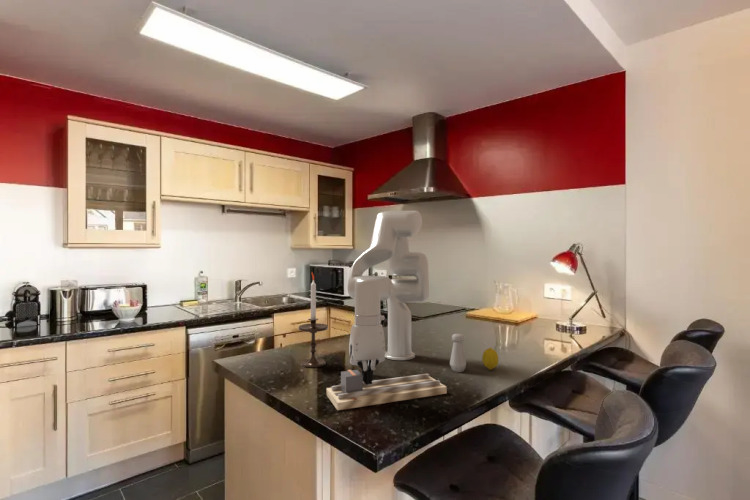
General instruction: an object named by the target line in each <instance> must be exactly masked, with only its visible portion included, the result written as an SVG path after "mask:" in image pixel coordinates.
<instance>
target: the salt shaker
mask: <svg viewBox="0 0 750 500" xmlns="http://www.w3.org/2000/svg"><path fill="white" fill-rule="evenodd" d="M451 340H452V341H453V344H452V350H451V353H450V360H449V366H450V367H451V370H452V371H453V372H456V373H461V372H464V371H465V369H466V366H467V360H466V355H465V351H464V350H465V349H464V343H463V342H464V341H465V335H464V334H462V333H453V334H452V335H451Z"/></svg>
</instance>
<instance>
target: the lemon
mask: <svg viewBox="0 0 750 500" xmlns="http://www.w3.org/2000/svg"><path fill="white" fill-rule="evenodd" d="M498 354H499V353H497V351H496V350H495V349H493V348H492V347H489V348H487V349H485V350H484V352H483V353H482V358H481V359H482V364H483V366H484V368H485V367H486V368H487V369H488V370H489V371H491V370H493V369H494V368H496V367H497V366H498V365H499V355H498Z"/></svg>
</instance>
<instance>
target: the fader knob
mask: <svg viewBox="0 0 750 500" xmlns="http://www.w3.org/2000/svg"><path fill="white" fill-rule="evenodd" d="M361 373H362V372H360V371H359V370H358V369H353V370H352V369H347V370H345V371H340V385H341V390H342V391H343V392H344V393H350V392H357V391H363V375H362V374H361Z"/></svg>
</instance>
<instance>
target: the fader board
mask: <svg viewBox="0 0 750 500" xmlns="http://www.w3.org/2000/svg"><path fill="white" fill-rule="evenodd" d="M325 391H326V392H325V393H326V394H325V395H326V396H327V398H328V399H329V401H330V402H331V403H332V405H333V406H334V407H335V410H337V411H342V410H350V409H355V408H362V407H368V406H375V405H381V404H386V403H393V402H399V401H407V400H414V399H420V398H427V397H432V396H439V395H444V394H448V393H447V391H448V387H447V385H445V384H443V383H441V381H440V380H439V379H437V380H436V379H435V378H433V377H431V376H430V374H429V373H421V374H415V375H407V376H400V377H399V376H398V377H392V378H385V379H384V378H383V379H382V378H381V379H375V380H374V379H373V380H372V384H368V385H366V384H365V383H364V382H363V391H357V392H350V393H344V392H343V391H342V390H341V384H337V385H332V386H330V387H326V390H325Z"/></svg>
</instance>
